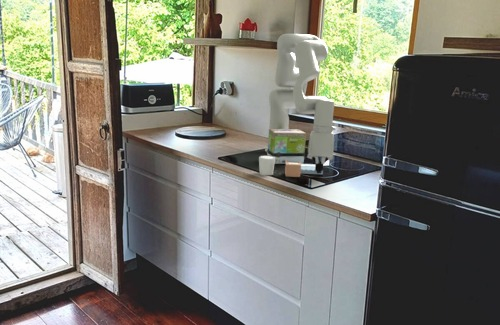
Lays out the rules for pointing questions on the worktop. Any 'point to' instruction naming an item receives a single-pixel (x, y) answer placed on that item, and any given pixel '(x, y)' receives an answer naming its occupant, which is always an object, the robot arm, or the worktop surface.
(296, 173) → the cardboard box
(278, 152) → the tea box
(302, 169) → the blue microchip card
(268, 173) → the shot glass
